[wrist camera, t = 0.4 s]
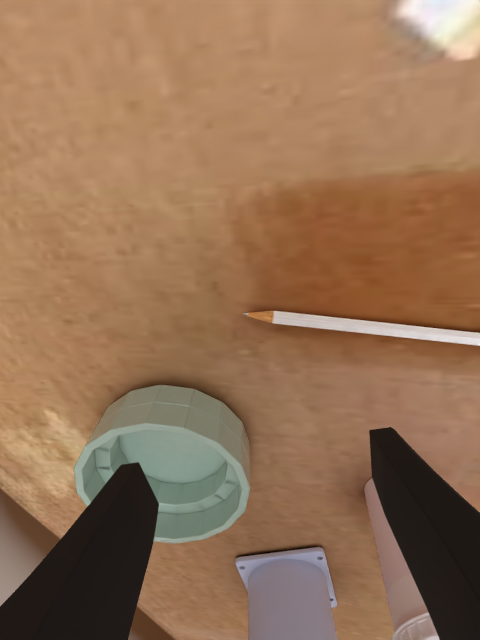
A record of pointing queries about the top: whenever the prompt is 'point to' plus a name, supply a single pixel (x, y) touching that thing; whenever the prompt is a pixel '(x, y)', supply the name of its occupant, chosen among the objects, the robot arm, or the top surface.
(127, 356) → the top surface
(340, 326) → the pencil
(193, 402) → the lid
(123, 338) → the top surface
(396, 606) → the smoothie
